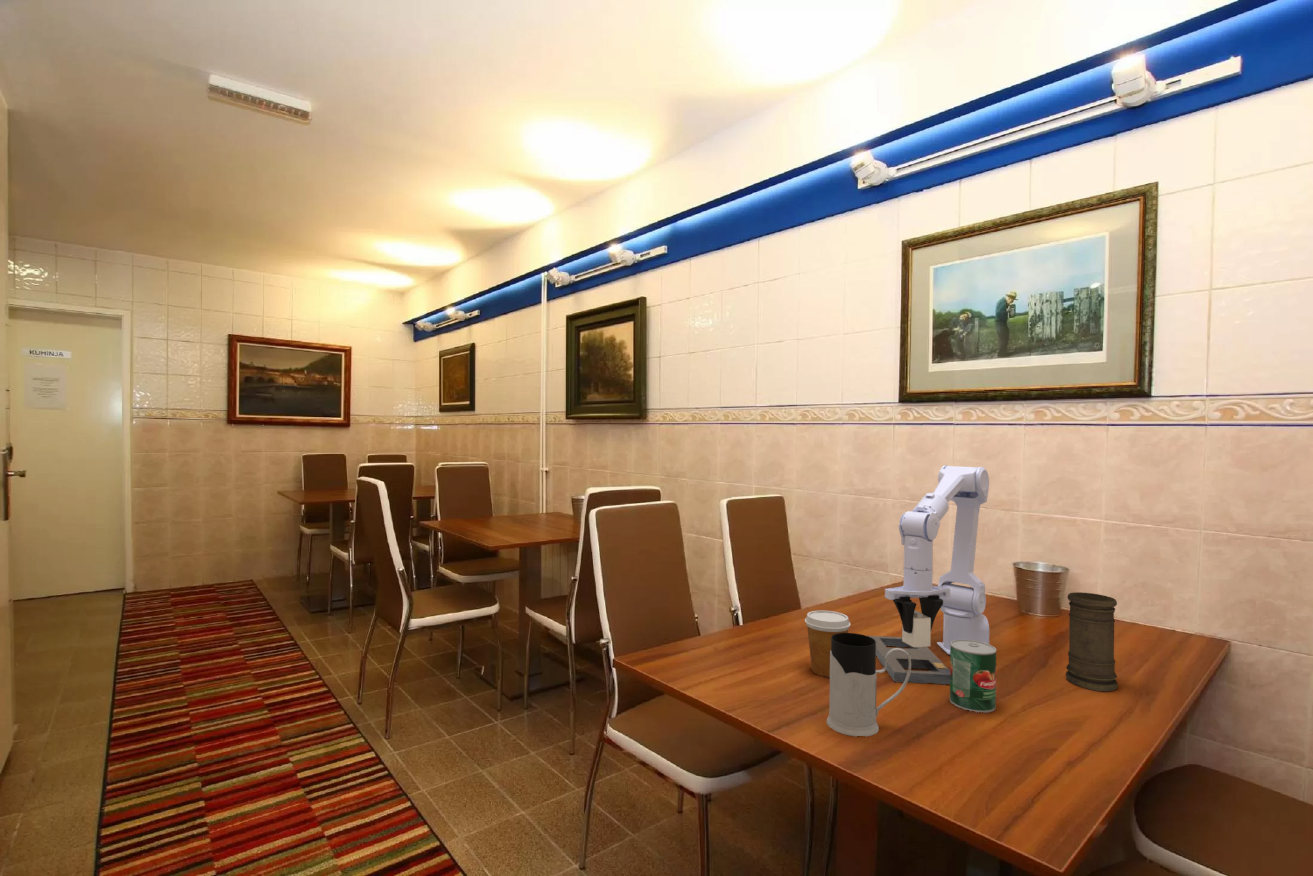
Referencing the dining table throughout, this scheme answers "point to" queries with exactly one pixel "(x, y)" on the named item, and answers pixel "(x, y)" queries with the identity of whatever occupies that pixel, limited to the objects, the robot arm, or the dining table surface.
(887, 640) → the panel
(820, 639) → the disposable coffee cup
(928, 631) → the plug
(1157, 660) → the dining table surface
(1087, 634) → the container
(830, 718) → the grey beer mug
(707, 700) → the dining table surface
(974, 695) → the canned tomato
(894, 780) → the dining table surface
